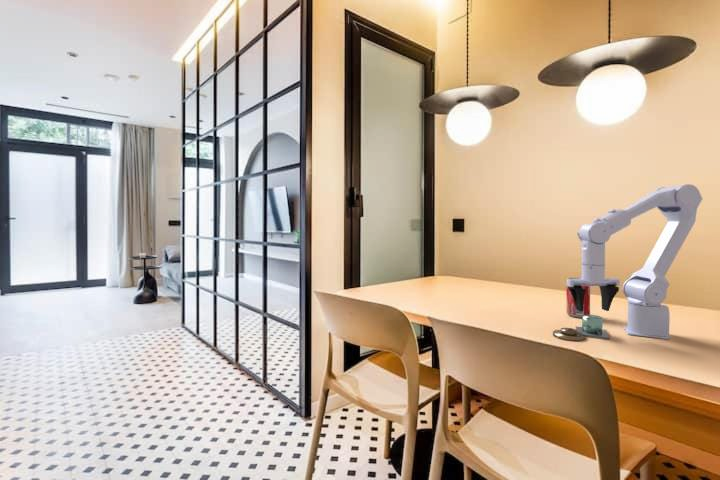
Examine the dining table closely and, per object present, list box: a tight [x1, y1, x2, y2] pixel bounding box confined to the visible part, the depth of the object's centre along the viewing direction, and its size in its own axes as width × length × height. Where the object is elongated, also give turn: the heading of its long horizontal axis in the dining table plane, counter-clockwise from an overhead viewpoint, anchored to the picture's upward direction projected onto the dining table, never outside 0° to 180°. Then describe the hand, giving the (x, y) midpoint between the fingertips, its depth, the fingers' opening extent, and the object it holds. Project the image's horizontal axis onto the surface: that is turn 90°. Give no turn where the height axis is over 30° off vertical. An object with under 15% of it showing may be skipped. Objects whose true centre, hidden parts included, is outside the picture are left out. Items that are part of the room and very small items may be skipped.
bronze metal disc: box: [552, 327, 586, 342], centre depth 106 cm, size 8×8×2 cm
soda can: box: [565, 277, 591, 319], centre depth 127 cm, size 7×7×13 cm
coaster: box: [575, 326, 611, 340], centre depth 108 cm, size 8×8×1 cm
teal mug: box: [581, 313, 604, 335], centre depth 108 cm, size 7×5×4 cm
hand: (592, 310), depth 107 cm, fingers open, 7 cm apart
